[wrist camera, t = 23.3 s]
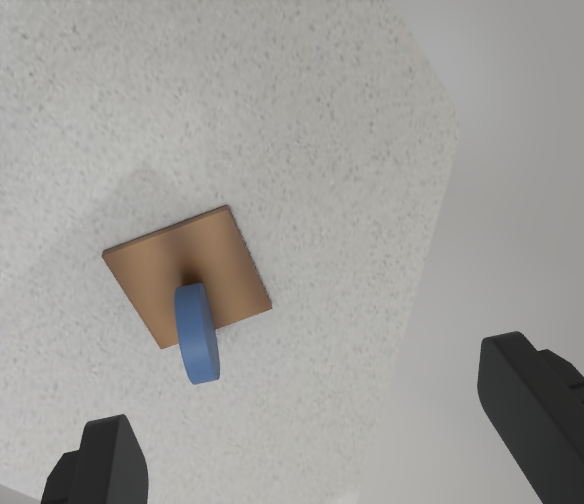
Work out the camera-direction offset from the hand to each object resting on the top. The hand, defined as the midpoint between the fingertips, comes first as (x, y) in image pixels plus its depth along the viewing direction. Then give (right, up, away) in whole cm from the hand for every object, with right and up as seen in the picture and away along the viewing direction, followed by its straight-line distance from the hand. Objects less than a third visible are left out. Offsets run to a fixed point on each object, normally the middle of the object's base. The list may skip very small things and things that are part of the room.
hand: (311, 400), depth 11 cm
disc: (-8, -3, +30) cm, 31 cm away
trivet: (-9, +1, +33) cm, 34 cm away
